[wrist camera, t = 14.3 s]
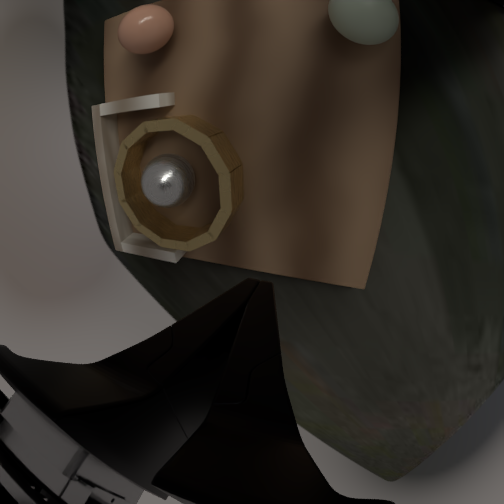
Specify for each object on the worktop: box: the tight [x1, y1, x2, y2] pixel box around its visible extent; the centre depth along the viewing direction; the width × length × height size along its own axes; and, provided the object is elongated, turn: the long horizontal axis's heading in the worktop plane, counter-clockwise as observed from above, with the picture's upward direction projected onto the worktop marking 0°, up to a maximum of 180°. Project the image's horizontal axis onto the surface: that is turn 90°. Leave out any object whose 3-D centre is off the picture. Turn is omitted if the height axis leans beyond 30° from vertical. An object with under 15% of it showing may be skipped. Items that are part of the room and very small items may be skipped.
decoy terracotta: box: [117, 4, 174, 54], centre depth 14 cm, size 4×4×4 cm
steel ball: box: [141, 153, 195, 208], centre depth 20 cm, size 4×4×4 cm
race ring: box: [114, 115, 244, 251], centre depth 20 cm, size 10×10×2 cm
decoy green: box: [328, 0, 399, 45], centre depth 10 cm, size 4×4×4 cm
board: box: [92, 0, 401, 289], centre depth 18 cm, size 23×22×3 cm
